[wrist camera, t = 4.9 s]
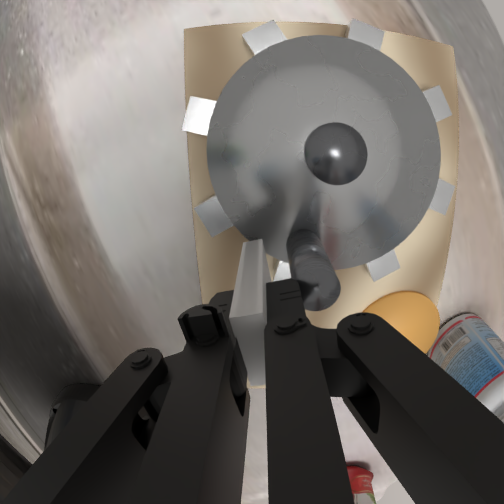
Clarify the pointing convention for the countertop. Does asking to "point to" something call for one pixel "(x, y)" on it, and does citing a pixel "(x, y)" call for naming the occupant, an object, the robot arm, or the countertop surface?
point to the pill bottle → (473, 359)
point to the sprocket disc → (322, 155)
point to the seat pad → (409, 316)
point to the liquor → (361, 485)
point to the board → (229, 252)
